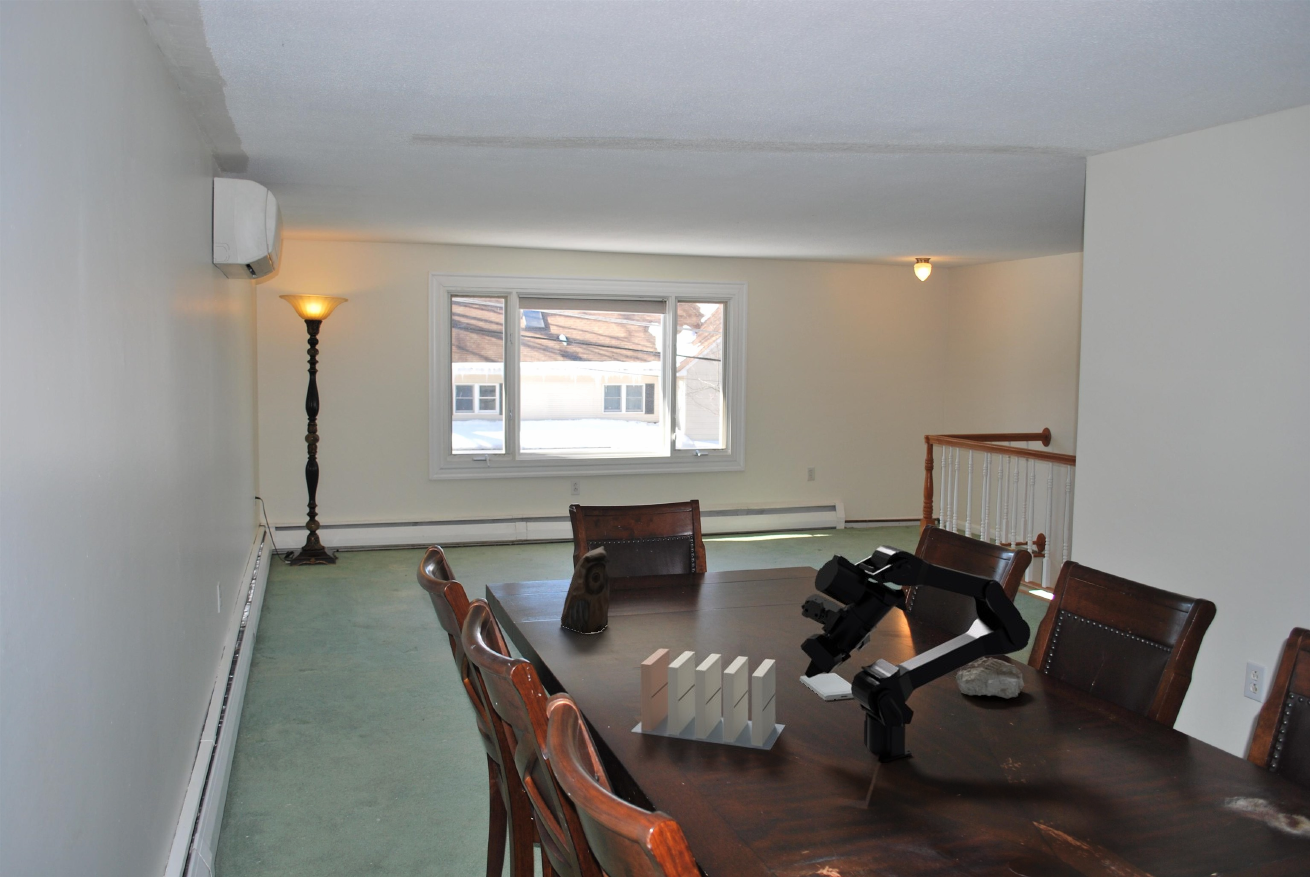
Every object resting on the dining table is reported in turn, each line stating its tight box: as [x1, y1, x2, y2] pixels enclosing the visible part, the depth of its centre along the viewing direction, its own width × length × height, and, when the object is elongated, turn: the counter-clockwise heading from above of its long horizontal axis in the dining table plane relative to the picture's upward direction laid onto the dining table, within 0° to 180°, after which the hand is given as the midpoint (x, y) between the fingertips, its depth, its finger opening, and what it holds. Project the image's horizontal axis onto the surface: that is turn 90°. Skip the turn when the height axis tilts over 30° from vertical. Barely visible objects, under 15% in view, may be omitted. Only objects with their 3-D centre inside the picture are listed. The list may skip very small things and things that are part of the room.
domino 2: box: [668, 650, 696, 735], centre depth 170 cm, size 2×10×12 cm, turn 160°
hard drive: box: [799, 672, 854, 701], centre depth 193 cm, size 2×8×12 cm
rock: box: [955, 657, 1025, 699], centre depth 190 cm, size 14×9×10 cm
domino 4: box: [722, 655, 749, 743], centre depth 167 cm, size 2×10×12 cm, turn 160°
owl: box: [560, 545, 611, 633], centre depth 239 cm, size 13×13×20 cm
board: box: [631, 715, 786, 751], centre depth 169 cm, size 25×12×1 cm, turn 70°
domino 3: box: [695, 653, 722, 739], centre depth 169 cm, size 2×10×12 cm, turn 160°
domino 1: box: [640, 648, 670, 732], centre depth 172 cm, size 2×10×12 cm, turn 160°
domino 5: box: [751, 658, 777, 746], centre depth 165 cm, size 2×10×12 cm, turn 160°
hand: (807, 675), depth 164 cm, fingers closed
